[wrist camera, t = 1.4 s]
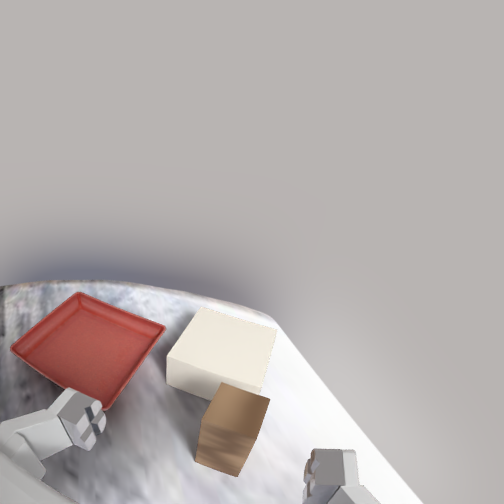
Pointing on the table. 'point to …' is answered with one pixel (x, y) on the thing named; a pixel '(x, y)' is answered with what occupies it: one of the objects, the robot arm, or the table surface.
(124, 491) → the table surface
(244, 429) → the walnut block
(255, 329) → the plinth
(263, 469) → the table surface
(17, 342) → the plant saucer
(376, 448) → the table surface
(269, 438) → the table surface
